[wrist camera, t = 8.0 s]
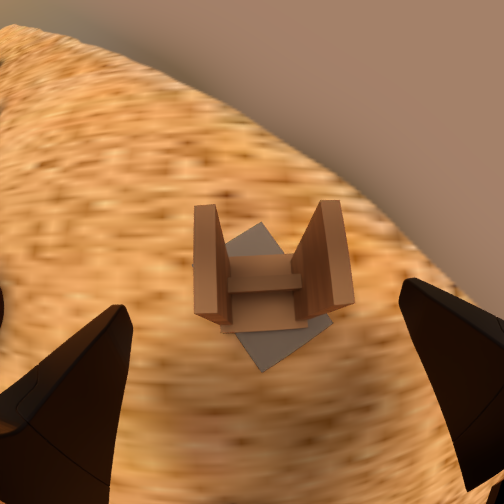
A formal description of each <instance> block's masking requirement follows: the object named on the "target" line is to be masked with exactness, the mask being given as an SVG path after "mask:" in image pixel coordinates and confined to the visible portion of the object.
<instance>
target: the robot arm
mask: <svg viewBox="0 0 504 504" xmlns="http://www.w3.org/2000/svg"><path fill="white" fill-rule="evenodd" d="M399 307H400V309H401V312H402V315H403V317H404V320H405V323H406V325H407V328H408V331H409V334H410V336H411V339H412V342H413V344H414V346H415V349H416V351H417V353H418V355H419V357H420V359H421V362H422V364H423V366H424V369H425V371H426V373H427V375H428V378H429V380H430V383H431V385H432V387H433V390H434V392H435V395H436V397H437V400H438V403H439V405H440V408H441V410H442V413H443V416H444V419H445V421H446V424H447V427H448V430H449V433H450V436H451V439H452V442H453V445H454V448H455V452H456V455H457V458H458V462H459V465H460V469H461V472H462V476H463V480H464V484H465V488H466V491H467V492H469V491H471V490H473V489H474V488H476V487H478V486H479V485H481V484H483V483H484V482H486V481H487V480H489V479H490V478H492V477H493V476H495V475H496V474H498V473H499V472H501V471H502V470H504V320H502V319H500V318H498V317H496V316H494V315H492V314H490V313H488V312H486V311H484V310H482V309H480V308H478V307H476V306H474V305H472V304H470V303H468V302H466V301H464V300H462V299H460V298H458V297H456V296H454V295H452V294H450V293H448V292H446V291H443V290H441V289H439V288H437V287H435V286H433V285H431V284H429V283H426V282H424V281H422V280H420V279H418V278H408V279H405V280H404V282H403V285H402V289H401V292H400V296H399ZM132 336H133V325H132V322H131V319H130V317H129V314H128V312H127V309H126V307H125V306H124V305H122V304H121V305H111V306H110V307H109V308H107V309H106V310H105V311H104V312H102V313H101V314H100V315H98V316H97V317H96V318H95V319H93V320H92V321H91V322H89V323H88V324H87V325H86V326H84V327H83V328H82V329H81V330H79V331H78V332H77V333H75V334H74V335H73V336H72V337H70V338H69V339H68V340H67V341H66V342H64V343H63V344H62V345H61V346H59V347H58V348H57V349H56V350H54V351H53V352H52V353H51V354H50V355H48V356H47V357H46V358H45V359H44V360H42V361H41V362H40V363H39V365H36V366H35V367H34V368H33V369H32V370H30V371H29V372H28V373H27V374H26V375H24V376H23V377H22V378H21V379H19V380H18V381H17V382H16V383H14V384H13V385H12V386H10V387H9V388H8V389H6V390H5V391H4V392H2V393H1V394H0V504H109V492H110V487H109V486H110V480H111V471H112V463H113V455H114V448H115V441H116V434H117V428H118V422H119V416H120V411H121V405H122V400H123V395H124V390H125V385H126V380H127V375H128V369H129V361H130V352H131V344H132ZM486 504H504V478H503V479H501V480H500V481H499V482H497V483H496V484H495V485H493V486H492V488H491V491H490V494H489V497H488V499H487V502H486Z"/></svg>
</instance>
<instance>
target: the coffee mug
mask: <svg viewBox="0 0 504 504" xmlns="http://www.w3.org/2000/svg"><path fill="white" fill-rule="evenodd" d="M3 312H4V301H3V295H2V291H1V288H0V327H1V324H2V320H3Z"/></svg>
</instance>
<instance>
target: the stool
mask: <svg viewBox="0 0 504 504" xmlns="http://www.w3.org/2000/svg"><path fill="white" fill-rule="evenodd" d="M193 276H194V314H196V315H199V316H201V317H203V318H205V319H207V320H210V321H212V322H214V323H217V324H219V325H220V331H221V333H239V332H259V331H275V330H288V329H300V328H308V321H307V320H308V319H311V318H314V317H317V316H320V315H323V314H326V313H329V312H332V311H335V310H337V309H340V308H343V307H346V306H348V305H351V304H354V303H355V297H354V289H353V281H352V273H351V265H350V258H349V252H348V245H347V239H346V233H345V227H344V221H343V215H342V210H341V205H340V200H320V202H319V204H318V206H317V208H316V210H315V212H314V214H313V216H312V218H311V220H310V223H309V225H308V227H307V229H306V231H305V233H304V235H303V237H302V239H301V241H300V243H299V245H298V247H297V249H296V251H295V253H294V254H275V255H255V256H235V257H228V253H227V249H226V246H225V242H224V238H223V234H222V230H221V226H220V222H219V218H218V214H217V209H216V205H215V204H213V205H198V206H194V250H193Z"/></svg>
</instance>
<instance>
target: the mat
mask: <svg viewBox="0 0 504 504" xmlns="http://www.w3.org/2000/svg"><path fill="white" fill-rule="evenodd" d="M225 246H226V249H227V253H228V257H235V256H255V255H275V254H284V252H283V251H282V249H281V248H280V247H279V245H278V244H277V243H276V241H275V240H274V238H273V237H272V236H271V234H270V233H269V231H268V230H267V229H266V227H265V226H264V225H263V223H262V222H260V223H258V224H257V225H255V226H254V227H252V228H250V229H249V230H247V231H245V232H244V233H242V234H240V235H239V236H237V237H236V238H234V239H232V240H231V241H229V242H228V243H226V244H225ZM192 267H193V264H192ZM307 321H308V328H300V329H288V330H275V331H259V332H239V333H235V334H236V336H237V337H238V339H239V340H240V342H241V343H242V345H243V346H244V348H245V349H246V351H247V352H248V354H249V355H250V357H251V358H252V359H253V361H254V362H255V364H256V365H257V367H258V368H259V370H260V371H261V372H264V371H266V370H267V369H269V368H270V367H272V366H273V365H275V364H276V363H278V362H279V361H281V360H282V359H284V358H285V357H287V356H288V355H290V354H291V353H293V352H294V351H295V350H297V349H298V348H300V347H301V346H303V345H304V344H305V343H307V342H308V341H310V340H311V339H312V338H314V337H315V336H316V335H318V334H319V333H321V332H322V331H323V330H325V329H326V328H327V327H329V326H330V325H331V324H333V322H332V321H331V319H330V318H329V316H328V315H327V313H326V314H323V315H320V316H317V317H314V318H311V319H308V320H307Z"/></svg>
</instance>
